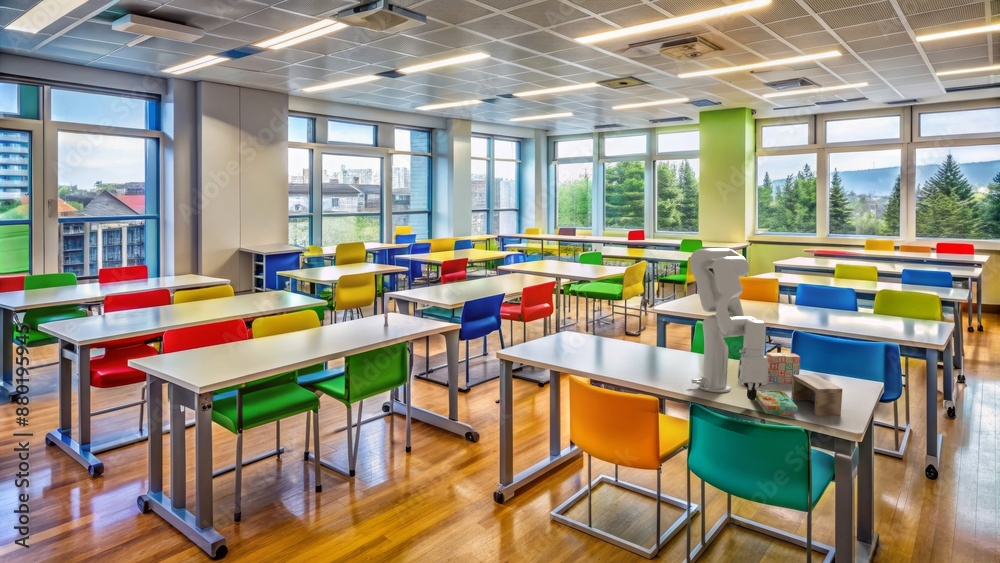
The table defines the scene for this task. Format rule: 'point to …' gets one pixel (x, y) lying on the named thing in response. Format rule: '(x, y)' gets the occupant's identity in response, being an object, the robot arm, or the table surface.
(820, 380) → the low shelf
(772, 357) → the stack of blocks
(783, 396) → the puzzle game
